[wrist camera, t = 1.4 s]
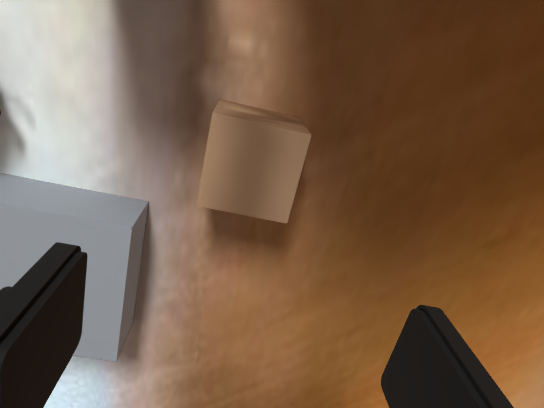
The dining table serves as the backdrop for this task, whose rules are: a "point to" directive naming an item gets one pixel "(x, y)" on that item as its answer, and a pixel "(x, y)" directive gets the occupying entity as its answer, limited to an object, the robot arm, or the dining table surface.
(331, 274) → the dining table surface
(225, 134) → the walnut cube
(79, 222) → the grey block
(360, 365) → the dining table surface
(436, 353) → the robot arm
